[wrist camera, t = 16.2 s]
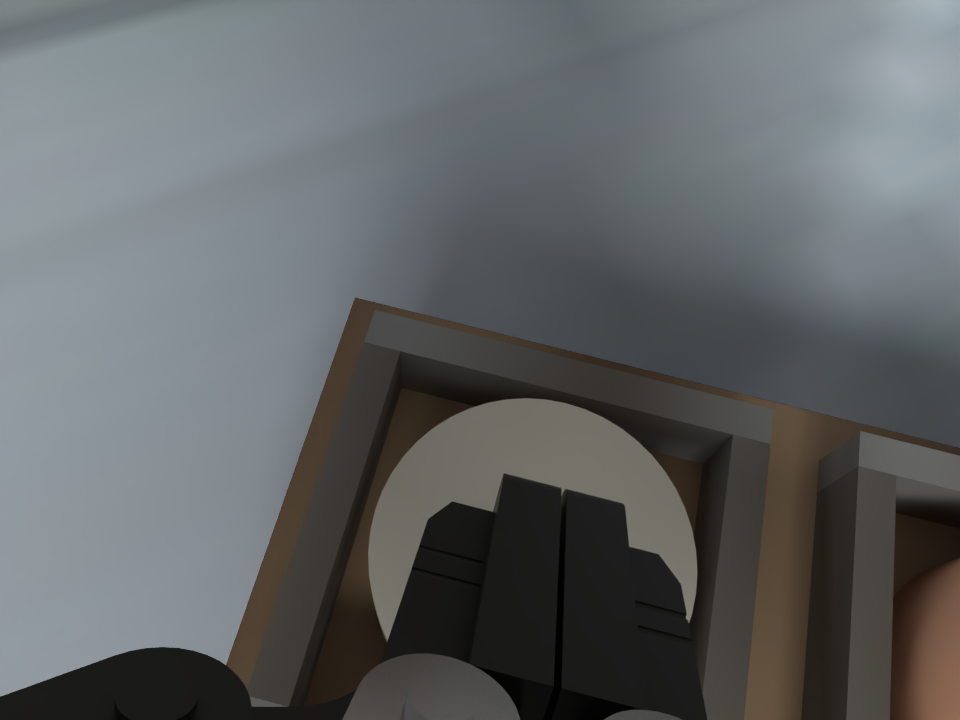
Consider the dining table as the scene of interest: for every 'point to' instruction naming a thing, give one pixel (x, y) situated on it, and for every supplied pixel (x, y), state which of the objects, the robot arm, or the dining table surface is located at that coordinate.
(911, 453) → the wooden egg crate
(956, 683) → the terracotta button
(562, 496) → the robot arm
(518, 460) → the cream egg
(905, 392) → the dining table surface
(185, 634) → the dining table surface
